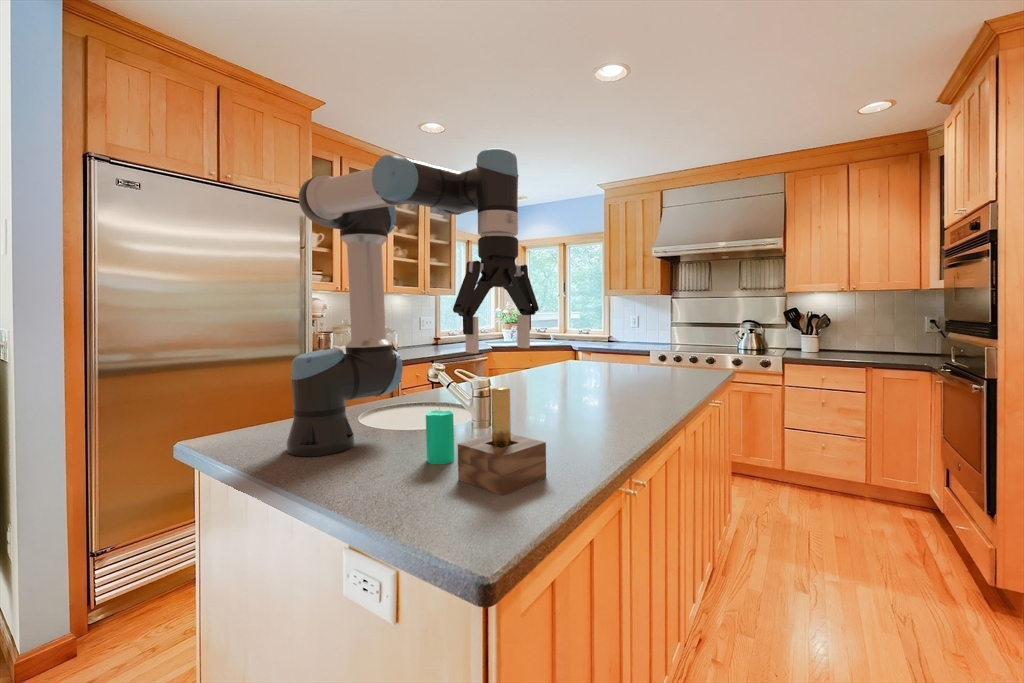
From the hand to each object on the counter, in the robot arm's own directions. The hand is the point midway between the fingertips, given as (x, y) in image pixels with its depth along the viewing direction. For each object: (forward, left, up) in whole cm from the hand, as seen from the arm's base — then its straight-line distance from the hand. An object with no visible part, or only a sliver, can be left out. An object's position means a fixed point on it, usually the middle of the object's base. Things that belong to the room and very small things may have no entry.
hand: (499, 350), depth 92 cm
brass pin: (0, 0, -21) cm, 21 cm away
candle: (-18, -1, -25) cm, 31 cm away
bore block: (0, 0, -25) cm, 25 cm away
